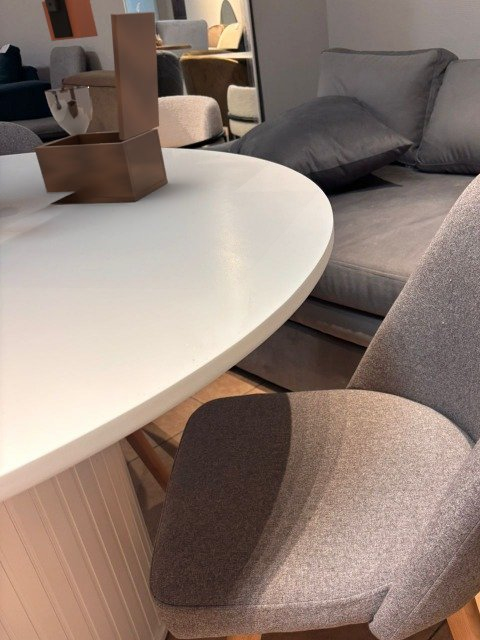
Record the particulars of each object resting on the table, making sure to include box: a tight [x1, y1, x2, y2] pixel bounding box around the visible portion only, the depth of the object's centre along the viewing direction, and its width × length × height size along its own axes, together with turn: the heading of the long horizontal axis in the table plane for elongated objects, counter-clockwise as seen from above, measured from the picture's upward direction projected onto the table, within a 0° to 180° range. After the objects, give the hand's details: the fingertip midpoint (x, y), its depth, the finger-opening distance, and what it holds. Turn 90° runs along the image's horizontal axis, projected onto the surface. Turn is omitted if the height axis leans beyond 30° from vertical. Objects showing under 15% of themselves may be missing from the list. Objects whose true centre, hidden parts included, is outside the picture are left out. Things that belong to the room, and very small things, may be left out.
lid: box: [110, 11, 160, 140], centre depth 97 cm, size 16×13×1 cm
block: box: [41, 0, 99, 42], centre depth 95 cm, size 5×5×5 cm
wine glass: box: [44, 85, 93, 136], centre depth 123 cm, size 8×8×15 cm
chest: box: [33, 128, 169, 205], centre depth 106 cm, size 16×13×9 cm
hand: (74, 36), depth 96 cm, fingers closed on block, 5 cm apart
